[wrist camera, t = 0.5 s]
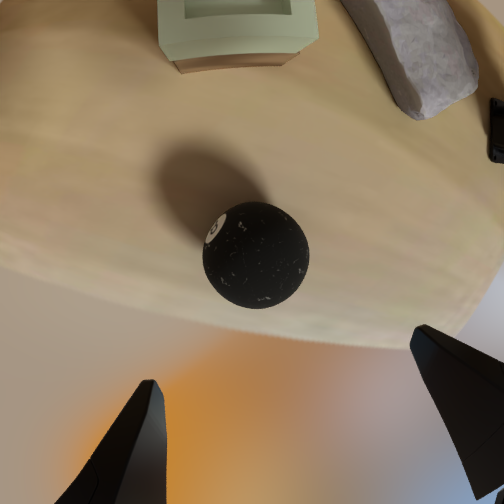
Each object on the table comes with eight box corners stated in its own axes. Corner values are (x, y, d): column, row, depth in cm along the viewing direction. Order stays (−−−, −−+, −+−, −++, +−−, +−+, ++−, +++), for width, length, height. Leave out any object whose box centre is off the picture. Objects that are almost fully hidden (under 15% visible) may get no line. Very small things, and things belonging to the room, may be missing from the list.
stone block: (393, -27, 13) (314, -17, 12) (432, -40, 8) (358, -45, 8) (448, 86, 18) (392, 125, 18) (490, 87, 14) (444, 129, 13)
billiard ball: (255, 287, 21) (271, 343, 16) (186, 245, 19) (180, 296, 14) (309, 226, 20) (345, 267, 15) (241, 173, 18) (256, 199, 12)
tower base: (271, -12, 12) (287, -38, 9) (280, 66, 15) (299, 53, 11) (176, -6, 12) (169, -33, 8) (181, 74, 14) (174, 62, 11)
